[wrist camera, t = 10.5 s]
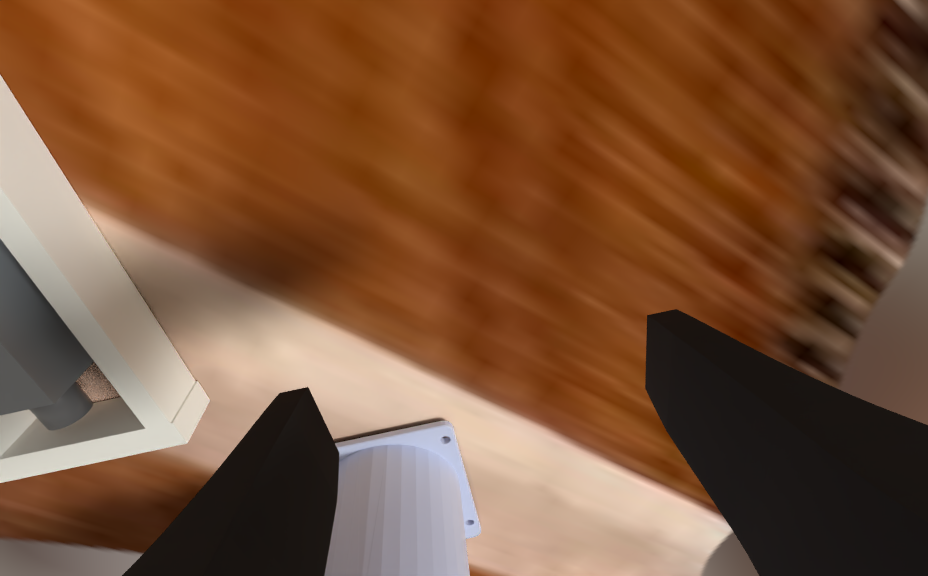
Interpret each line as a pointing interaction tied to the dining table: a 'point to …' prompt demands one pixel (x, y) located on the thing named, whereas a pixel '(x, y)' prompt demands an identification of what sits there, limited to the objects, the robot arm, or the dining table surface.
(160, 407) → the cable comb
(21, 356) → the grey plug
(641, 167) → the dining table surface
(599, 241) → the dining table surface
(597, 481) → the dining table surface
